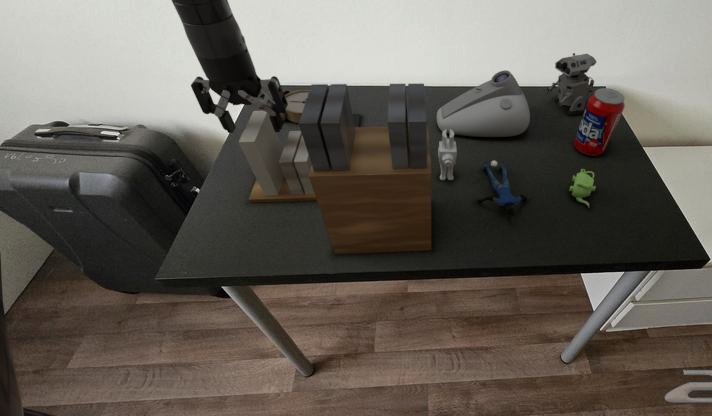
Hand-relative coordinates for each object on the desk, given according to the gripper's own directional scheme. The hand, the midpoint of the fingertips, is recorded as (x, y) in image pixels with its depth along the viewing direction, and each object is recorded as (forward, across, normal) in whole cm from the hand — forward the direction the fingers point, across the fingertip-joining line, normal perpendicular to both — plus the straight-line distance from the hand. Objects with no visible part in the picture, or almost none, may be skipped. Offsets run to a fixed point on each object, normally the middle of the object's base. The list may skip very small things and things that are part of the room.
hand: (255, 130), depth 70 cm
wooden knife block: (+14, +24, -14) cm, 31 cm away
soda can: (+14, +74, +9) cm, 76 cm away
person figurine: (+14, +49, -6) cm, 51 cm away
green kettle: (+14, +66, -7) cm, 68 cm away
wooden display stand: (+14, +3, 0) cm, 14 cm away
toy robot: (+14, +37, +1) cm, 40 cm away
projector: (+14, +48, +20) cm, 54 cm away
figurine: (+14, +73, +28) cm, 79 cm away
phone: (+14, +12, +18) cm, 26 cm away
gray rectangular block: (+13, 0, 0) cm, 13 cm away
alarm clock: (+14, 0, +27) cm, 30 cm away
